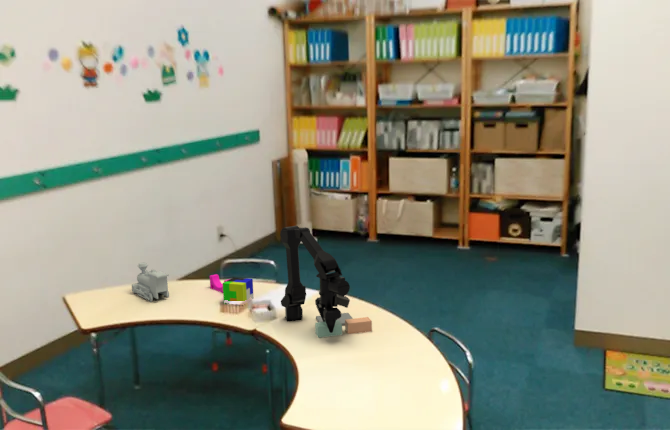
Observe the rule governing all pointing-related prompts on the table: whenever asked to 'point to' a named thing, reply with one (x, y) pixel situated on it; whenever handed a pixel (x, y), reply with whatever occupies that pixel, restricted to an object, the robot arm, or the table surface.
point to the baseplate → (341, 319)
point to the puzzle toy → (238, 289)
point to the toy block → (216, 283)
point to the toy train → (150, 283)
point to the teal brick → (323, 330)
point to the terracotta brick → (358, 325)
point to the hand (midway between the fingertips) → (328, 328)
